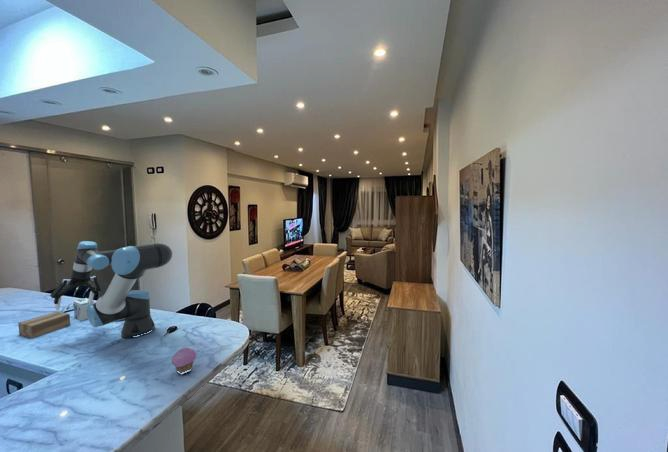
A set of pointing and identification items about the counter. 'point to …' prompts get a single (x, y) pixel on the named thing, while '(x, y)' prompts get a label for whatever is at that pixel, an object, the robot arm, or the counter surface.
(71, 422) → the counter surface
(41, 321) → the walnut block
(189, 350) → the cupcake
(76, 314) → the light bulb box
